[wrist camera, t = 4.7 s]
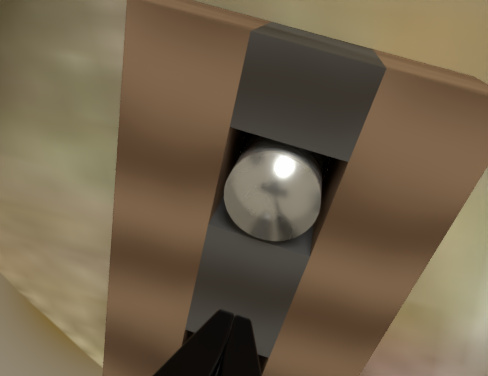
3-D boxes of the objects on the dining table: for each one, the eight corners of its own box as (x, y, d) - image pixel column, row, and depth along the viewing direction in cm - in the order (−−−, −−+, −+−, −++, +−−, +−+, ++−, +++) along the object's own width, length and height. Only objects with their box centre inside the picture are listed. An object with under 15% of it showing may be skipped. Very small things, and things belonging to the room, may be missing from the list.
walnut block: (309, 392, 28) (304, 464, 24) (135, 332, 29) (101, 390, 25) (474, 76, 17) (524, 105, 12) (177, -4, 18) (127, -3, 13)
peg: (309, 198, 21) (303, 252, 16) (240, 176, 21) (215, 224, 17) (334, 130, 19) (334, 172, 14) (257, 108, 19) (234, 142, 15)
